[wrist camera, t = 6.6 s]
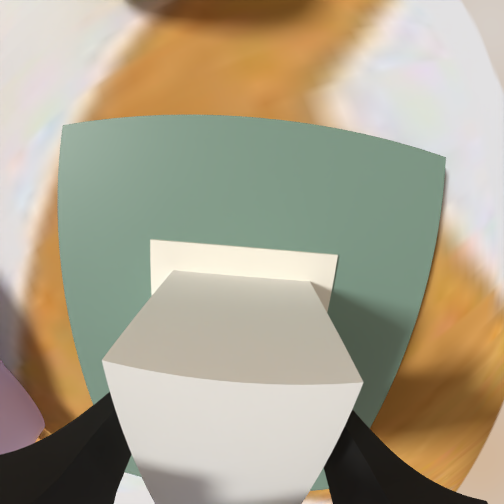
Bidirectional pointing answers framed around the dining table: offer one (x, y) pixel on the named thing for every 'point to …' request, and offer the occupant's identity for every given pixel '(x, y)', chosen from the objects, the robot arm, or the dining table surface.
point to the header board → (247, 227)
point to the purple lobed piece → (17, 414)
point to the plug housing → (231, 389)
